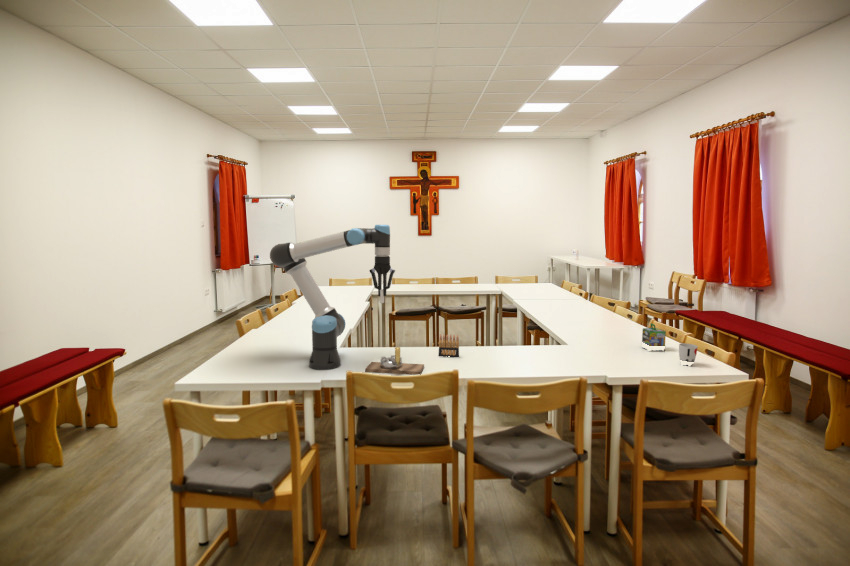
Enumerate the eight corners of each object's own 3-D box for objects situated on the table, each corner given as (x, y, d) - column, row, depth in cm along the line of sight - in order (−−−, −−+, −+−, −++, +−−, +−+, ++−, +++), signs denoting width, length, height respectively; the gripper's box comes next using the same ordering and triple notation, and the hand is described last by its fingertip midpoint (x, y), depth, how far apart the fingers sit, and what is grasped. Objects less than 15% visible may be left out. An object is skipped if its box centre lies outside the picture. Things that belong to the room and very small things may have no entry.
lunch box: (665, 351, 263) (667, 325, 261) (648, 351, 262) (650, 325, 261) (656, 347, 272) (658, 322, 270) (640, 347, 272) (642, 322, 270)
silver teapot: (377, 364, 227) (377, 342, 226) (396, 361, 232) (396, 340, 231) (388, 372, 215) (388, 349, 214) (408, 369, 219) (408, 347, 218)
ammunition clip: (438, 356, 248) (438, 334, 247) (438, 355, 250) (439, 333, 249) (458, 357, 247) (459, 335, 245) (459, 356, 249) (459, 334, 247)
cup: (685, 367, 233) (686, 347, 232) (673, 362, 241) (675, 343, 240) (699, 366, 234) (701, 347, 233) (688, 362, 242) (689, 343, 241)
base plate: (365, 372, 221) (364, 368, 221) (371, 364, 233) (371, 361, 233) (420, 375, 217) (420, 371, 217) (424, 367, 229) (424, 364, 229)
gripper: (396, 255, 239) (396, 301, 242) (371, 255, 241) (371, 301, 243) (393, 256, 231) (393, 304, 234) (367, 255, 233) (367, 303, 236)
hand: (382, 302), depth 239 cm, fingers closed
